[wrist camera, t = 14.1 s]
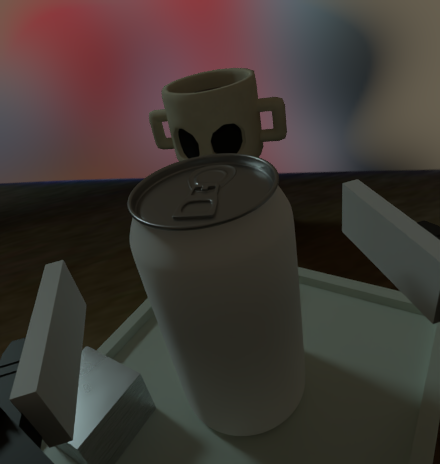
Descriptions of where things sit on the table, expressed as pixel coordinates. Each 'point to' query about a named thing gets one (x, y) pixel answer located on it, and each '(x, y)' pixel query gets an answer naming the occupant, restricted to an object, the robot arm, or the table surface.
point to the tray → (316, 386)
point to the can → (224, 286)
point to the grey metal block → (107, 409)
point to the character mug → (216, 115)
